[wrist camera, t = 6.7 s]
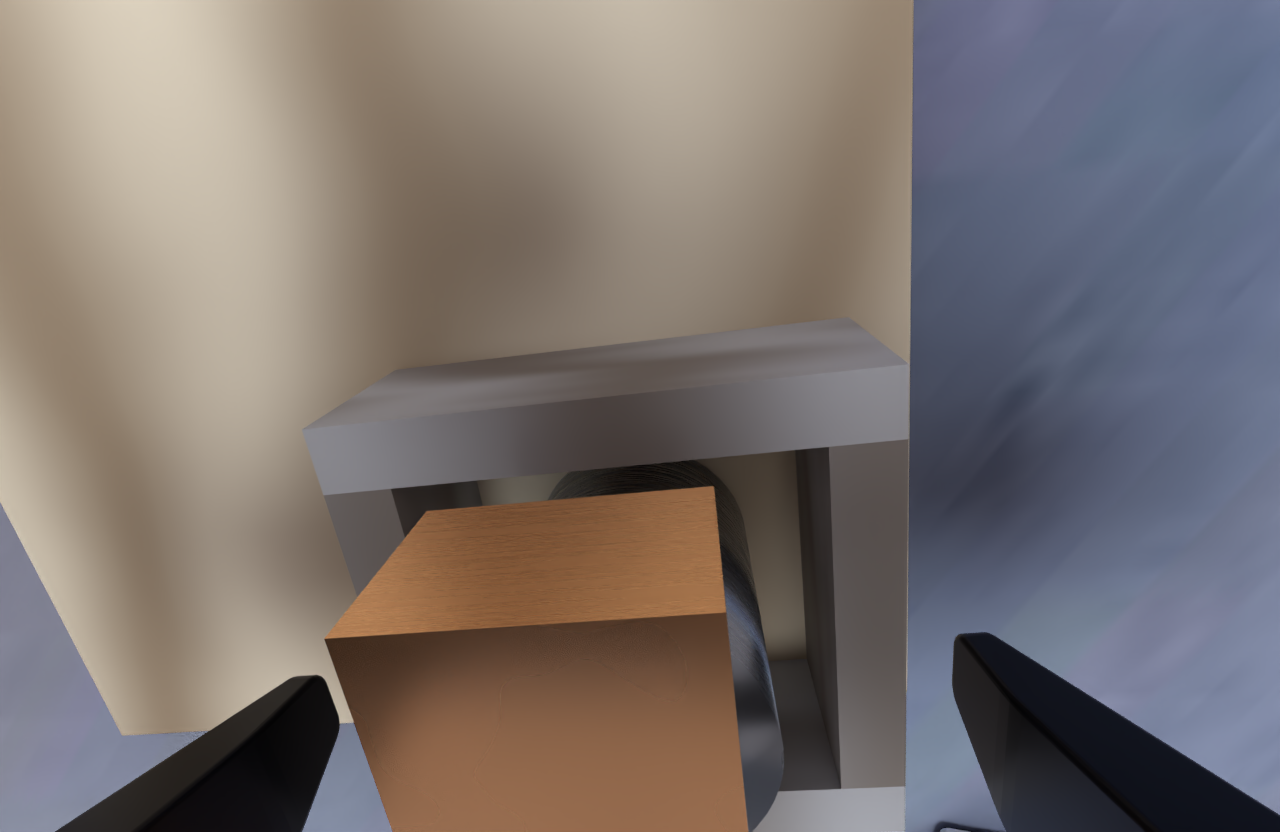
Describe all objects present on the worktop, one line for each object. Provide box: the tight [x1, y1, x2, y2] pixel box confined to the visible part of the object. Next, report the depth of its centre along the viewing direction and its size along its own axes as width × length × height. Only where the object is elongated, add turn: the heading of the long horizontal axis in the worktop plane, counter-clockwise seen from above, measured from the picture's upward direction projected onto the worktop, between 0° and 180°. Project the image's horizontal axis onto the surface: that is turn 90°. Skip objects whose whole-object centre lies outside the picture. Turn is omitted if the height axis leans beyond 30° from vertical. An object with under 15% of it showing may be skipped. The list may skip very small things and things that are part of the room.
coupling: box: [324, 460, 784, 832], centre depth 9 cm, size 7×4×7 cm, turn 7°
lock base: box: [0, 0, 913, 832], centre depth 10 cm, size 18×18×4 cm
